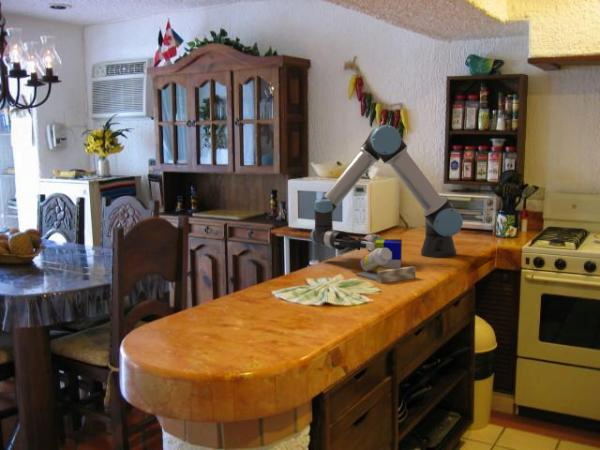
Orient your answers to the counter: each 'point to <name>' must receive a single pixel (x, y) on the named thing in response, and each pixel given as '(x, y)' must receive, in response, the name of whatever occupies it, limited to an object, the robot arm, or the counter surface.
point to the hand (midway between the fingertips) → (372, 246)
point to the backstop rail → (395, 274)
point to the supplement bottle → (375, 259)
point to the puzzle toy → (395, 249)
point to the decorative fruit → (372, 238)
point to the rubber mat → (369, 275)
